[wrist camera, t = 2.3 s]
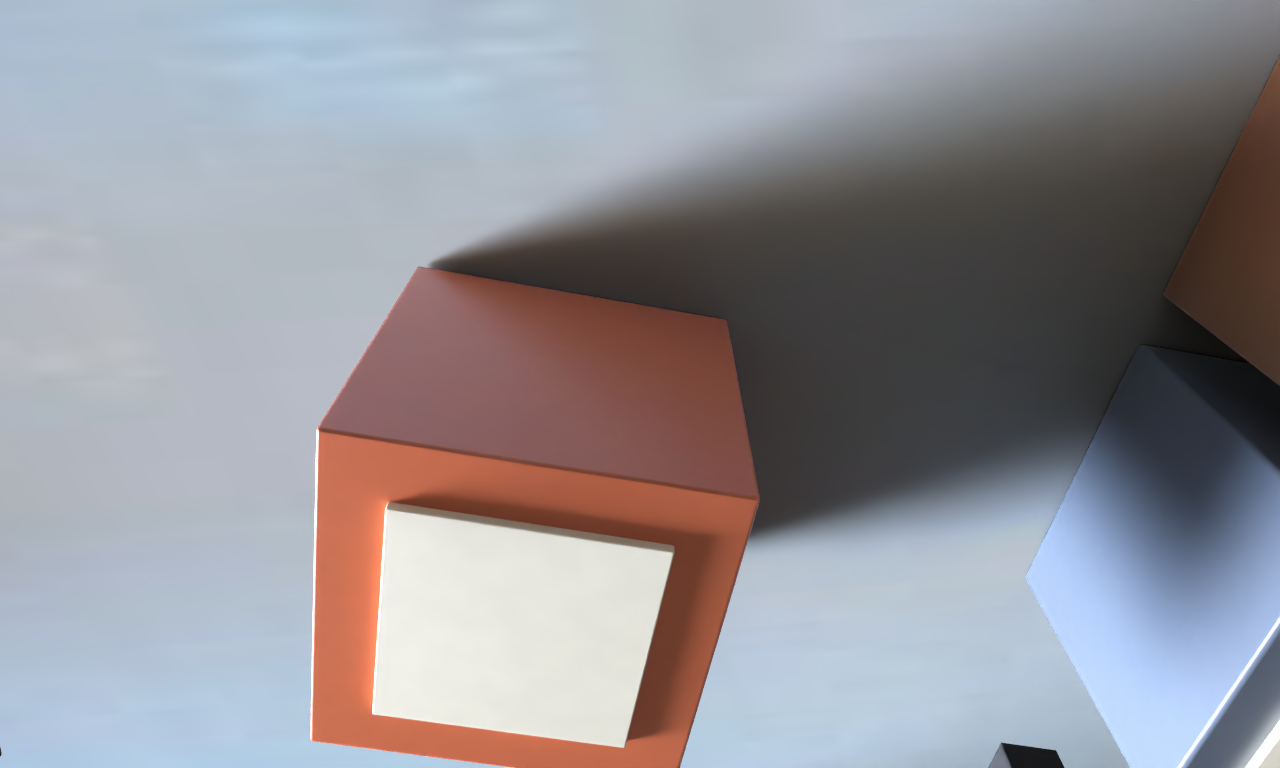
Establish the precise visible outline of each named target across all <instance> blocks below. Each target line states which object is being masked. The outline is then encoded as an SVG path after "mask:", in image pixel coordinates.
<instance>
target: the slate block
mask: <svg viewBox="0 0 1280 768" xmlns="http://www.w3.org/2000/svg"><path fill="white" fill-rule="evenodd" d="M1026 581H1027V582H1028V584H1029V586H1030V588H1031V590H1032V591H1033V593H1034V595H1035V597H1036V599H1037V600H1038V602H1039V604H1040V606H1041V608H1042V609H1043V611H1044V613H1045V615H1046V617H1047V619H1048V620H1049V622H1050V624H1051V626H1052V628H1053V629H1054V631H1055V633H1056V635H1057V637H1058V638H1059V640H1060V642H1061V644H1062V646H1063V647H1064V649H1065V651H1066V653H1067V655H1068V656H1069V658H1070V660H1071V662H1072V664H1073V666H1074V667H1075V669H1076V671H1077V673H1078V675H1079V676H1080V678H1081V680H1082V682H1083V684H1084V685H1085V687H1086V689H1087V691H1088V693H1089V694H1090V696H1091V698H1092V700H1093V702H1094V704H1095V705H1096V707H1097V709H1098V711H1099V713H1100V714H1101V716H1102V718H1103V720H1104V722H1105V723H1106V725H1107V727H1108V729H1109V731H1110V732H1111V734H1112V736H1113V738H1114V740H1115V741H1116V743H1117V745H1118V747H1119V749H1120V751H1121V752H1122V754H1123V756H1124V758H1125V760H1126V761H1127V763H1128V765H1129V767H1130V768H1280V386H1279V385H1278V384H1276V383H1275V382H1274V381H1273V380H1271V379H1270V378H1269V377H1267V376H1266V375H1265V374H1264V373H1262V372H1261V371H1260V370H1258V369H1257V368H1256V367H1254V366H1253V365H1252V364H1249V363H1243V362H1237V361H1232V360H1226V359H1220V358H1215V357H1209V356H1204V355H1198V354H1192V353H1187V352H1181V351H1175V350H1170V349H1164V348H1159V347H1153V346H1147V345H1140V346H1139V347H1138V348H1137V350H1136V352H1135V354H1134V356H1133V359H1132V361H1131V363H1130V365H1129V367H1128V369H1127V371H1126V373H1125V375H1124V377H1123V379H1122V381H1121V383H1120V385H1119V387H1118V389H1117V391H1116V393H1115V395H1114V397H1113V399H1112V401H1111V403H1110V405H1109V407H1108V409H1107V412H1106V414H1105V416H1104V418H1103V420H1102V422H1101V424H1100V426H1099V428H1098V430H1097V432H1096V434H1095V436H1094V438H1093V440H1092V442H1091V444H1090V446H1089V448H1088V450H1087V452H1086V454H1085V456H1084V458H1083V460H1082V462H1081V464H1080V467H1079V469H1078V471H1077V473H1076V475H1075V477H1074V479H1073V481H1072V483H1071V485H1070V487H1069V489H1068V491H1067V493H1066V495H1065V497H1064V499H1063V501H1062V503H1061V505H1060V507H1059V509H1058V511H1057V513H1056V515H1055V517H1054V520H1053V522H1052V524H1051V526H1050V528H1049V530H1048V532H1047V534H1046V536H1045V538H1044V540H1043V542H1042V544H1041V546H1040V548H1039V550H1038V552H1037V554H1036V556H1035V558H1034V560H1033V562H1032V564H1031V566H1030V568H1029V570H1028V572H1027V575H1026Z"/></svg>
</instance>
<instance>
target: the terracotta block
mask: <svg viewBox="0 0 1280 768" xmlns="http://www.w3.org/2000/svg"><path fill="white" fill-rule="evenodd" d="M759 502H760V497H759V491H758V486H757V481H756V475H755V470H754V464H753V459H752V454H751V448H750V443H749V437H748V432H747V427H746V421H745V416H744V410H743V405H742V400H741V394H740V389H739V383H738V378H737V373H736V367H735V362H734V356H733V351H732V345H731V340H730V335H729V329H728V324H727V320H725V319H719V318H713V317H707V316H701V315H696V314H690V313H684V312H678V311H673V310H667V309H661V308H655V307H650V306H644V305H638V304H632V303H626V302H621V301H615V300H609V299H603V298H598V297H592V296H586V295H580V294H575V293H569V292H563V291H557V290H551V289H546V288H540V287H534V286H528V285H523V284H517V283H511V282H505V281H500V280H494V279H488V278H482V277H476V276H471V275H465V274H459V273H453V272H448V271H442V270H436V269H430V268H425V267H418V268H417V269H416V271H415V272H414V274H413V276H412V277H411V279H410V280H409V282H408V284H407V285H406V287H405V288H404V290H403V292H402V293H401V295H400V296H399V298H398V300H397V301H396V303H395V304H394V306H393V308H392V309H391V311H390V313H389V314H388V316H387V317H386V319H385V321H384V322H383V324H382V325H381V327H380V329H379V330H378V332H377V333H376V335H375V337H374V338H373V340H372V341H371V343H370V345H369V346H368V348H367V349H366V351H365V353H364V354H363V356H362V357H361V359H360V361H359V362H358V364H357V365H356V367H355V369H354V370H353V372H352V373H351V375H350V377H349V378H348V380H347V381H346V383H345V385H344V386H343V388H342V389H341V391H340V393H339V394H338V396H337V397H336V399H335V401H334V402H333V404H332V405H331V407H330V409H329V410H328V412H327V413H326V415H325V417H324V418H323V420H322V421H321V423H320V425H319V426H318V428H317V431H316V482H315V533H314V584H313V634H312V685H311V736H310V737H311V740H312V741H315V742H323V743H330V744H338V745H345V746H353V747H361V748H368V749H376V750H383V751H391V752H399V753H406V754H414V755H421V756H429V757H437V758H444V759H452V760H459V761H467V762H475V763H482V764H490V765H497V766H505V767H513V768H680V765H681V762H682V758H683V755H684V752H685V748H686V745H687V742H688V738H689V735H690V732H691V728H692V725H693V722H694V718H695V715H696V712H697V708H698V705H699V702H700V698H701V695H702V692H703V688H704V685H705V682H706V678H707V675H708V672H709V668H710V665H711V662H712V658H713V655H714V652H715V648H716V645H717V642H718V638H719V635H720V632H721V628H722V625H723V622H724V618H725V615H726V612H727V608H728V605H729V602H730V598H731V595H732V592H733V588H734V585H735V582H736V578H737V575H738V572H739V568H740V565H741V562H742V558H743V555H744V552H745V548H746V545H747V542H748V538H749V535H750V532H751V528H752V525H753V522H754V518H755V515H756V512H757V508H758V505H759Z"/></svg>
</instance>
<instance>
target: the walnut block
mask: <svg viewBox="0 0 1280 768" xmlns="http://www.w3.org/2000/svg"><path fill="white" fill-rule="evenodd" d="M1163 296H1164V297H1165V298H1167V299H1168V300H1169V301H1171V302H1172V303H1173V304H1174V305H1176V306H1177V307H1178V308H1180V309H1181V310H1182V311H1183V312H1185V313H1186V314H1187V315H1189V316H1190V317H1191V318H1193V319H1194V320H1195V321H1196V322H1198V323H1199V324H1200V325H1202V326H1203V327H1204V328H1205V329H1207V330H1208V331H1209V332H1211V333H1212V334H1213V335H1214V336H1216V337H1217V338H1218V339H1220V340H1221V341H1222V342H1224V343H1225V344H1226V345H1227V346H1229V347H1230V348H1231V349H1233V350H1234V351H1235V352H1236V353H1238V354H1239V355H1240V356H1242V357H1243V358H1244V359H1245V360H1247V361H1248V362H1249V363H1251V364H1252V365H1253V366H1254V367H1256V368H1257V369H1258V370H1260V371H1261V372H1262V373H1264V374H1265V375H1266V376H1267V377H1269V378H1270V379H1271V380H1273V381H1274V382H1275V383H1276V384H1278V385H1279V386H1280V57H1279V59H1278V61H1277V63H1276V65H1275V67H1274V69H1273V71H1272V73H1271V75H1270V77H1269V79H1268V81H1267V83H1266V85H1265V87H1264V89H1263V91H1262V93H1261V95H1260V97H1259V99H1258V101H1257V103H1256V105H1255V108H1254V110H1253V112H1252V114H1251V116H1250V118H1249V120H1248V122H1247V124H1246V126H1245V128H1244V130H1243V132H1242V134H1241V136H1240V138H1239V140H1238V142H1237V144H1236V146H1235V148H1234V150H1233V152H1232V154H1231V156H1230V159H1229V161H1228V163H1227V165H1226V167H1225V169H1224V171H1223V173H1222V175H1221V177H1220V179H1219V181H1218V183H1217V185H1216V187H1215V189H1214V191H1213V193H1212V195H1211V197H1210V199H1209V201H1208V203H1207V205H1206V208H1205V210H1204V212H1203V214H1202V216H1201V218H1200V220H1199V222H1198V224H1197V226H1196V228H1195V230H1194V232H1193V234H1192V236H1191V238H1190V240H1189V242H1188V244H1187V246H1186V248H1185V250H1184V252H1183V254H1182V256H1181V259H1180V261H1179V263H1178V265H1177V267H1176V269H1175V271H1174V273H1173V275H1172V277H1171V279H1170V281H1169V283H1168V285H1167V287H1166V289H1165V291H1164V293H1163Z"/></svg>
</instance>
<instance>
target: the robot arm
mask: <svg viewBox="0 0 1280 768" xmlns="http://www.w3.org/2000/svg"><path fill="white" fill-rule="evenodd" d="M0 756H1V749H0ZM988 768H1064V766H1063V764H1062V762H1061V760H1060V758H1059V756H1058V754H1057V752H1056V750H1049V749H1042V748H1034V747H1027V746H1020V745H1013V744H1006V743H1001V744H1000V746H999V748H998V750H997V752H996V754H995V756H994V758H993V759H992V761H991V763H990V765H989V767H988Z"/></svg>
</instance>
